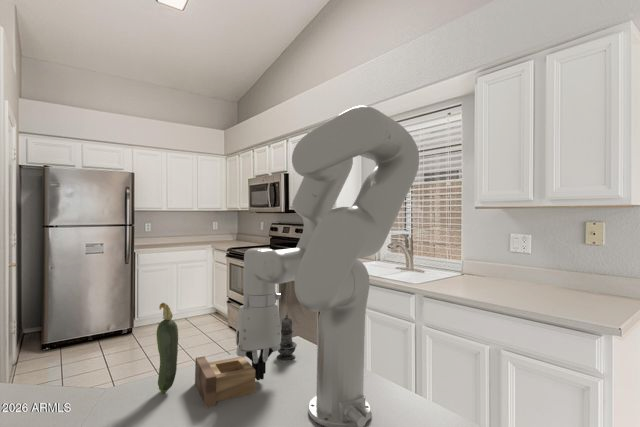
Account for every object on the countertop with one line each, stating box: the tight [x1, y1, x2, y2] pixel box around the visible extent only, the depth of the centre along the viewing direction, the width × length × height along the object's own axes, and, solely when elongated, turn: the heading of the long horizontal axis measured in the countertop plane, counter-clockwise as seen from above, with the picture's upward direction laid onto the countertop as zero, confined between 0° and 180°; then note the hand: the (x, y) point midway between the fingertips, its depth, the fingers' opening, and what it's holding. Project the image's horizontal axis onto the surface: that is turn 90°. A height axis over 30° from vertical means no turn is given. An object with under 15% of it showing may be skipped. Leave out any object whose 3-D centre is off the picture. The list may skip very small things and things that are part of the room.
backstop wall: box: [194, 356, 217, 408], centre depth 78 cm, size 12×2×6 cm, turn 29°
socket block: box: [208, 356, 256, 403], centre depth 81 cm, size 9×9×5 cm
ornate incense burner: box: [276, 314, 298, 362], centre depth 100 cm, size 6×6×12 cm
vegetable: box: [156, 302, 179, 394], centre depth 78 cm, size 4×4×20 cm
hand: (258, 377), depth 84 cm, fingers closed
